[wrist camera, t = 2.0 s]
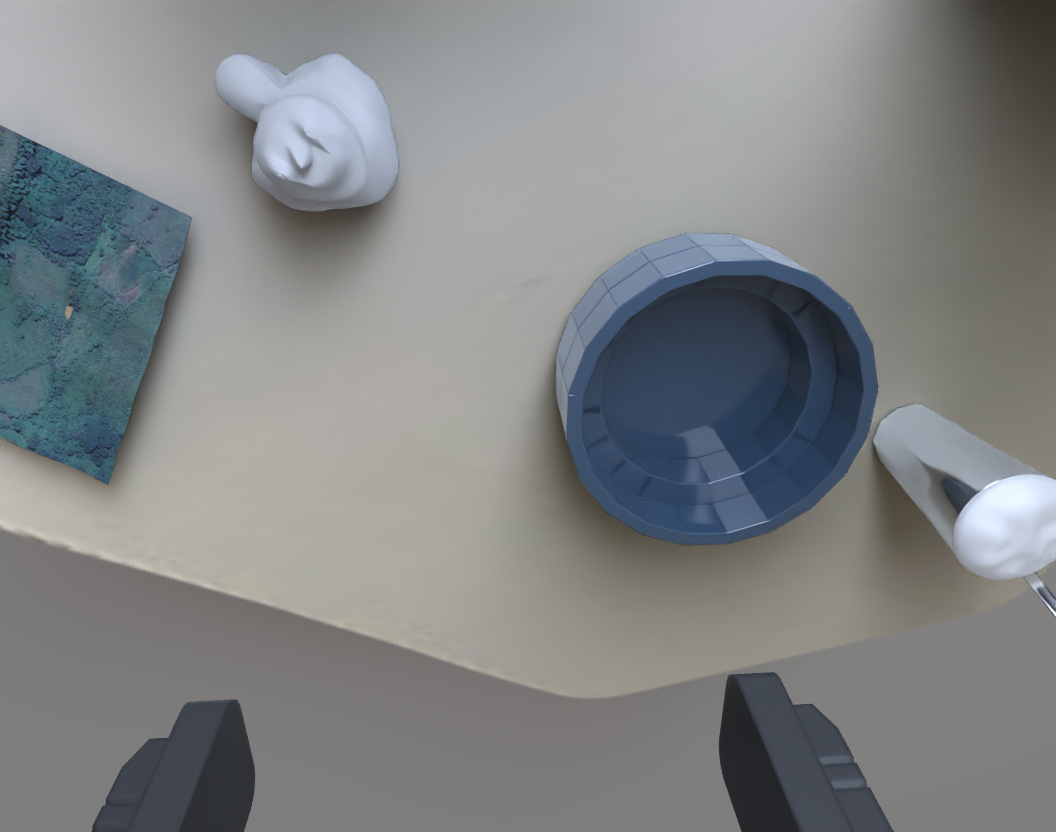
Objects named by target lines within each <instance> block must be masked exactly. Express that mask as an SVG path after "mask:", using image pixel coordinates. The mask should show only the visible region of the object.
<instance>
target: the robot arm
mask: <svg viewBox="0 0 1056 832" xmlns="http://www.w3.org/2000/svg"><path fill="white" fill-rule="evenodd" d="M719 754H720V764H721V768H722V774H723V778H724V781H725V784H726V787H727V790H728V793H729V796H730V799H731V802H732V805H733V808H734V811H735V813H736V817H737V819H738V822H739V825H740V828H741V831H742V832H893V830H892V828H891V826H890V824H889V822H888V820H887V819H886V817H885V815H884V813H883V811H882V809H881V807H880V806H879V804H878V802H877V800H876V798H875V796H874V794H873V793H872V791H871V789H870V788H868V787H867V784H866V780H865V778H864V776H863V774H862V772H861V770H860V768H859V766H858V765H857V763H854V757H853V755H852V754H851V752H850V750H849V748H848V746H847V744H846V743H845V740H844V739H843V737H842V735H841V733H840V731H839V729H838V728H837V727H836V726H835V725H834V724H833V723H832V722H831V721H830V720H829V719H828V718H826V717H825V716H824V715H823V714H822V713H821V712H820V711H819V710H818V709H817V708H816V707H815V706H814V705H813V704H801V705H793V704H792V702H791V700H790V698H789V696H788V693H787V692H786V689H785V687H784V685H783V683H782V682H781V679H780V678H779V676H778V675H777V674H776V673H774V672H771V673H752V674H735V675H734V674H733V675H729V677H728V679H727V683H726V690H725V698H724V706H723V714H722V721H721V729H720V737H719ZM254 787H255V769H254V763H253V758H252V754H251V750H250V745H249V741H248V737H247V733H246V728H245V724H244V719H243V715H242V711H241V707H240V704H239V703H238V701H237V700H216V701H197V702H188V703H186V704H185V705H184V707H183V708H182V710H181V712H180V714H179V716H178V718H177V720H176V722H175V725H174V727H173V729H172V731H171V734H170V736H169V738H157V739H149V740H148V741H147V742H146V743H145V744H144V745H143V746H142V747H141V748H140V749H139V750H138V751H137V753H135V755H134V756H133V757H132V758H131V759H130V760H129V761H128V762H127V763H126V764H125V765H124V766H123V767H122V769H121V770H120V772H119V775H118V776H117V778H116V780H115V782H114V784H113V786H112V788H111V790H110V792H109V794H108V796H107V798H106V804H105V806H102V808H101V810H100V812H99V814H98V816H97V818H96V820H95V822H94V824H93V830H92V832H244V829H245V826H246V823H247V819H248V816H249V813H250V810H251V806H252V801H253V795H254Z"/></svg>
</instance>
